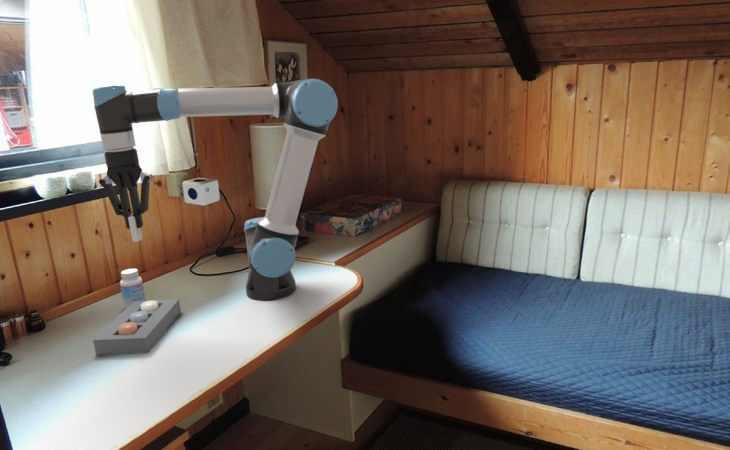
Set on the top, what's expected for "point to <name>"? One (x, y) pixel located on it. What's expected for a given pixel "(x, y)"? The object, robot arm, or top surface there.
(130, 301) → the pill bottle
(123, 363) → the top surface
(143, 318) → the blue-grey rounded block
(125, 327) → the terracotta button
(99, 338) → the tray
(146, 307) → the cream button
